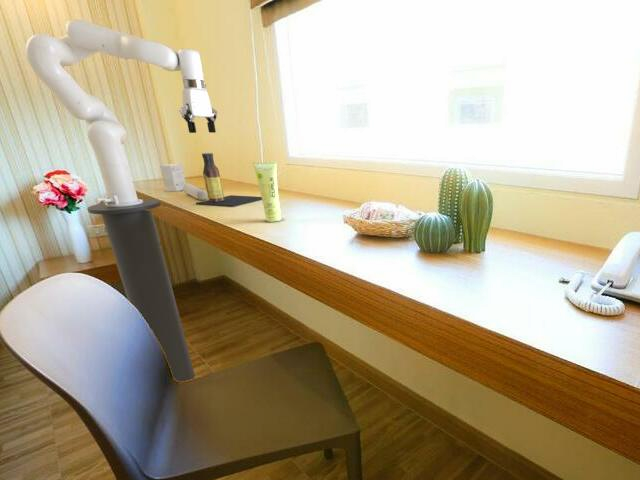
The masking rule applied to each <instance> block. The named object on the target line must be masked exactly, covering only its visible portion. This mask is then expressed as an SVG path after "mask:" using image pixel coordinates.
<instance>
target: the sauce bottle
mask: <svg viewBox="0 0 640 480" xmlns="http://www.w3.org/2000/svg"><path fill="white" fill-rule="evenodd" d="M201 156H202V159H203V170H202V174H203V175H202V176H203V179H204V183H205V184H204V185H205V189H206V193H207V198H208V200H210V202H221V201H224V197H225V194H224V189H223V188H224V187H223V183H222V178H221V175H220V171H219V167H217V166H216V164H215V161H214V153H213V152H201Z"/></svg>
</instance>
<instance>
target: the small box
mask: <svg viewBox="0 0 640 480" xmlns="http://www.w3.org/2000/svg"><path fill="white" fill-rule="evenodd" d="M159 168H160V172H161V176H162V180H163V184H164V188H165V191H166V192H172V193H173V192H176V193H177V192H181V191H184V190H183V187H184V185H185V184H187V183H186V177H185V174H184V169H183V164H182V163H169V164H161V165H159Z"/></svg>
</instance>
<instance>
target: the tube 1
mask: <svg viewBox="0 0 640 480" xmlns="http://www.w3.org/2000/svg"><path fill="white" fill-rule="evenodd" d="M182 191H183V193H184V194H187V195H189V196H191V197H192V198H195V199H196V200H198V201H206V199H207V198H208V194H207V191H205V190H203V189H202V188H199V187H197V186H195V185H194V184H192V183H186V184H185V185H184V187H183V190H182Z"/></svg>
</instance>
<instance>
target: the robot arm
mask: <svg viewBox="0 0 640 480" xmlns="http://www.w3.org/2000/svg"><path fill="white" fill-rule="evenodd" d="M65 32H66V34H65V35H63V36H61V37H60V38H57V37H55V36H52V35H51V34H47V33H35V34H33V35H32V36H30V37H29V38H28V40H27V41H26V45H25V57H26V60H27V62H28V65H29V67H30V68H31V70H32V71H33V73H34V74H35V75H36V76H37V77H38V79H39V81H41V82H42V83H43V84H44V86H46V88H48V90H49V91H50V93H52V95H53V96H54V97H55V98H56V99H57V100H58V102H59V103H60V104H61V105H62V106H63V107H64V109H65V110H66V111H67V113H69V114H70V116H72V117H74V118H75V119H78V120H82V121H85V122H86V123H87V124H88V127H87V129H86V136H87V138H88V142H89V144H90V145H91V148H92V150H93V153H94V156H95V159H96V162H97V165H98V168H99V172H100V175H101V178H102V182H103V185H104V188H105V191H106V194H104V196H103V197H99V198H95V200H94V201H95V204H96V205H97V204H101V203H105V205H106V207H126V206H133V205H138V204H142V203H143V200H141V199H142V198H138V195H137V191H136V187H135V184H134V179H133V176H132V173H131V169H130V164H129V162H128V158H127V155H126V152H125V150H124V147H123V145H124V144H125V143H126V141H127V138H128V133H127V131H126V129H125V127H124V126H123V125H122V124H121V122H120V121H119V120H118V119H117V118H116V116H115V115H114V114H113V113H112V112H111V111H110V109H109V108H108V107H107V106H106V104H105V103H104V102H102V100H100V99H99V98H98V97H96V96H95V95H93V94H90V93H87V92H85V91H84V89H83V88H81V86H80V85H79V84H78V83H77V81H76V80H75V79H74V78H73V77H72V75H70V73H68V72H67V70H65V69H64V67H71V66H74V65H76V64H78V63H80V62H83V61H84V60H85V59H88V58H90V57H91V56H93V55H95V54H97V53H102V54H105V55H109V56H112V57H116V58H119V59H123V60H135V61H140V62H143V63H145V64H146V63H147V64H150V65H153V66H157V67H159V68H162V70H165V71H167V72H180V74H181V79H182V84H183V88H182V92H181V93H182V95H181V97H182V107H180V108H179V109H178V112H179V113H180V115H181V117H182V118H183V119H184V121H185V122H186V123H187V128H188V133H189V134H196V133H197V128H196V123H195V121H194V120H195V118H205V119H206V120H207V122H206V123H207V124H206V125H207V129H208V133H211V134H212V133H214V134H215V133H216V125H215V124H216V119H217V115H218V111H217V110H216V109H215V108H213V107H212V103H211V99H210V95H209V93H208V91H207V89H206V88H207V84H206V83H205V78H204V71H203V65H202V60H201V54H200V53H199V51H198V50H196V49H190V48H180V49H178V50H174V49H171V48H170V47H169V46H167V45H165V44H163V43H159V42H156V41H153V40H149V39H146V38H142V37H140V36H135V35H131V34H129V33H125V32H122V31H119V30H116V29H112V28H108V27H105V26H102V25H99V24H96V23H92V22H90V21H86V20H82V19H76V18H75V19H70V20H68V21H67V22H66V25H65Z"/></svg>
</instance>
